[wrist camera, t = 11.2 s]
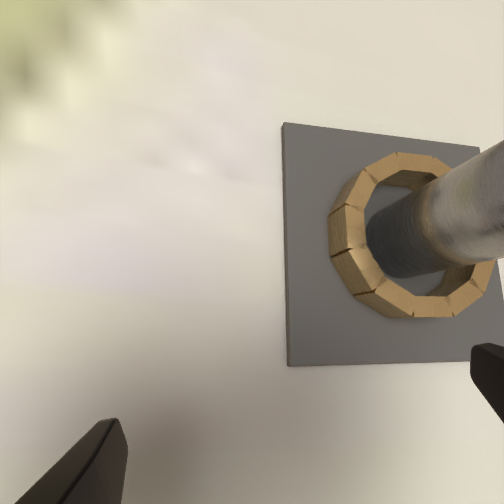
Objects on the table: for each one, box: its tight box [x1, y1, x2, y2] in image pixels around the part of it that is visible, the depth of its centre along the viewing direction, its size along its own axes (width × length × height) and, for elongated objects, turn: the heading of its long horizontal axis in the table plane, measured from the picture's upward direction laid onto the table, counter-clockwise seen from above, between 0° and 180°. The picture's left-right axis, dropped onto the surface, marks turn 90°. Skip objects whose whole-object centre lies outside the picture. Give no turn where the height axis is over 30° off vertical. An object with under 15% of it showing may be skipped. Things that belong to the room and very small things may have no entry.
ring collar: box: [327, 152, 496, 318], centre depth 22 cm, size 10×10×2 cm
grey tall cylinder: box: [365, 140, 504, 279], centre depth 17 cm, size 5×5×13 cm
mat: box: [282, 122, 504, 366], centre depth 24 cm, size 16×16×1 cm
